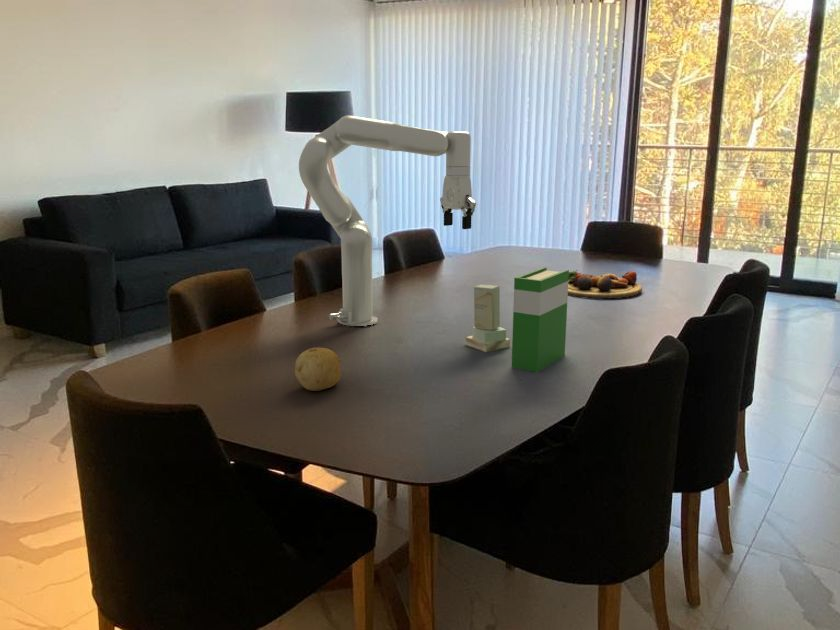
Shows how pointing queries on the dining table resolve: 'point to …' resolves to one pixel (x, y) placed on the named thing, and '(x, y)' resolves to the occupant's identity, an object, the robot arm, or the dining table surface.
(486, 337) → the tower top
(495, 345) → the tower base
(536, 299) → the hardback book
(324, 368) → the potato
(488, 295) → the skincare box
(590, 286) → the wooden plate with food
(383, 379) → the dining table surface
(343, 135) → the robot arm
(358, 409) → the dining table surface
